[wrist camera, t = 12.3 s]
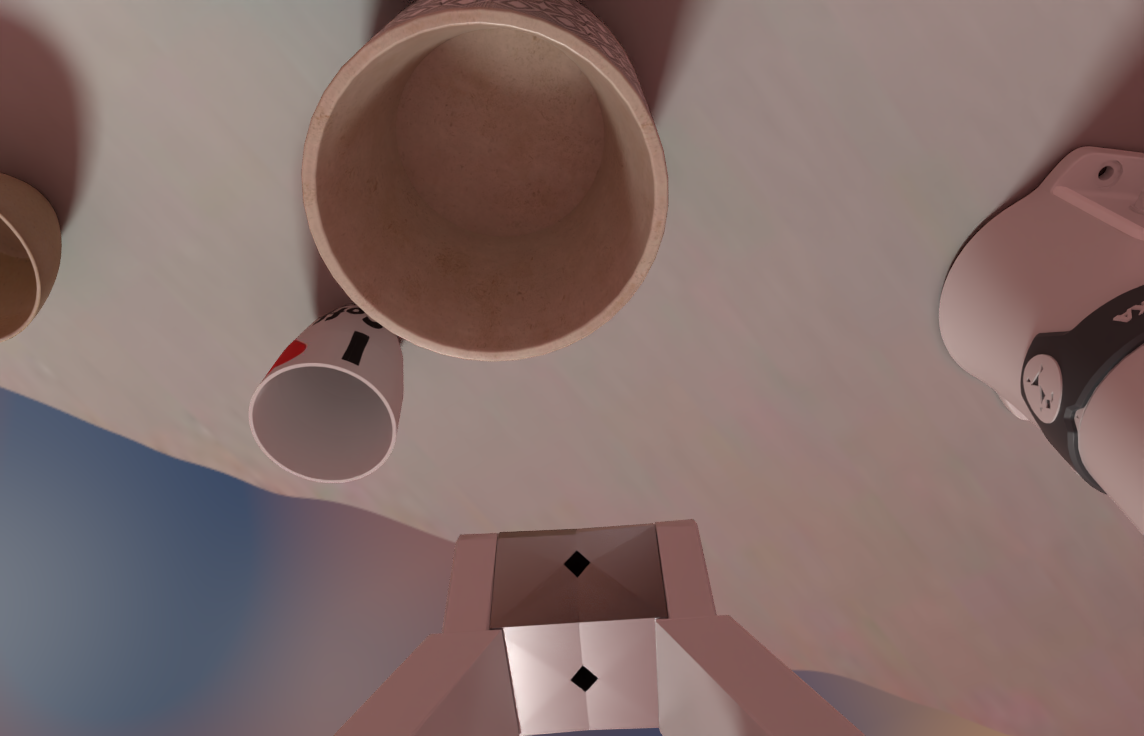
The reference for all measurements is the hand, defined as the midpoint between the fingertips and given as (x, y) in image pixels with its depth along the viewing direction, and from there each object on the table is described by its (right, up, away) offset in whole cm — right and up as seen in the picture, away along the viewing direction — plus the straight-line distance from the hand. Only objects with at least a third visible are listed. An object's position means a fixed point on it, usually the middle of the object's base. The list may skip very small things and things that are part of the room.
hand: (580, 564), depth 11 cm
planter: (-4, +16, +38) cm, 42 cm away
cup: (-14, +4, +45) cm, 47 cm away
